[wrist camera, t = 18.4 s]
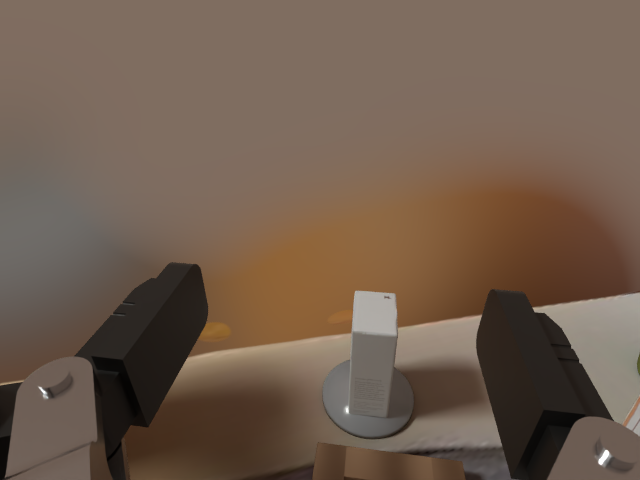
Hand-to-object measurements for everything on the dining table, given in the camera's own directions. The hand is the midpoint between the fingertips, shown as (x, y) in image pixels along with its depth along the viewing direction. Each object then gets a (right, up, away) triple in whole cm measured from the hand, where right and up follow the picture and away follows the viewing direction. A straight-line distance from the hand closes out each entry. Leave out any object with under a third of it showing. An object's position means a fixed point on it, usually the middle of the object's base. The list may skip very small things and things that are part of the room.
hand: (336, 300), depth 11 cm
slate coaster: (+5, -16, +32) cm, 36 cm away
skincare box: (+5, -15, +32) cm, 36 cm away
